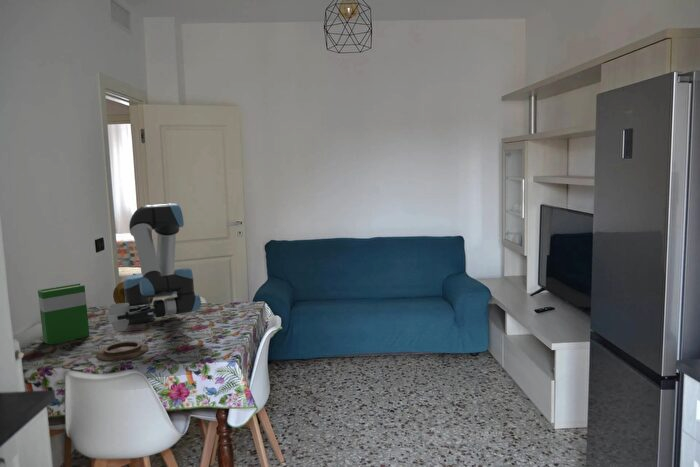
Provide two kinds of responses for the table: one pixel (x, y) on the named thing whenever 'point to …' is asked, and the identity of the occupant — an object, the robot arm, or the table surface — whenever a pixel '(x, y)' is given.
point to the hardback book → (63, 313)
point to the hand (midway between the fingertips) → (106, 316)
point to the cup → (119, 309)
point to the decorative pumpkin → (121, 294)
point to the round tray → (113, 358)
